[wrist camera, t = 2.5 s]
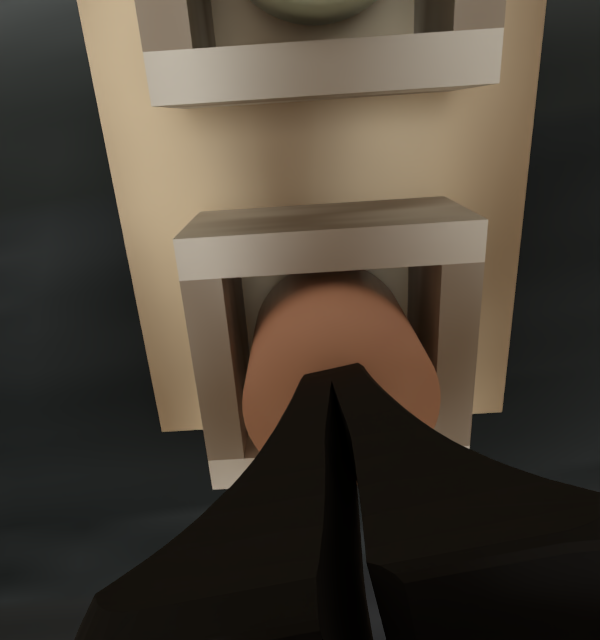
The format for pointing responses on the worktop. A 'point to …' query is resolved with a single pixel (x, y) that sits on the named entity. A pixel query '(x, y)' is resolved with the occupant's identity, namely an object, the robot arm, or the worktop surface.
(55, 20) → the worktop surface
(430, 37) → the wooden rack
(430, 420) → the terracotta key
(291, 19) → the sage key
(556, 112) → the worktop surface
